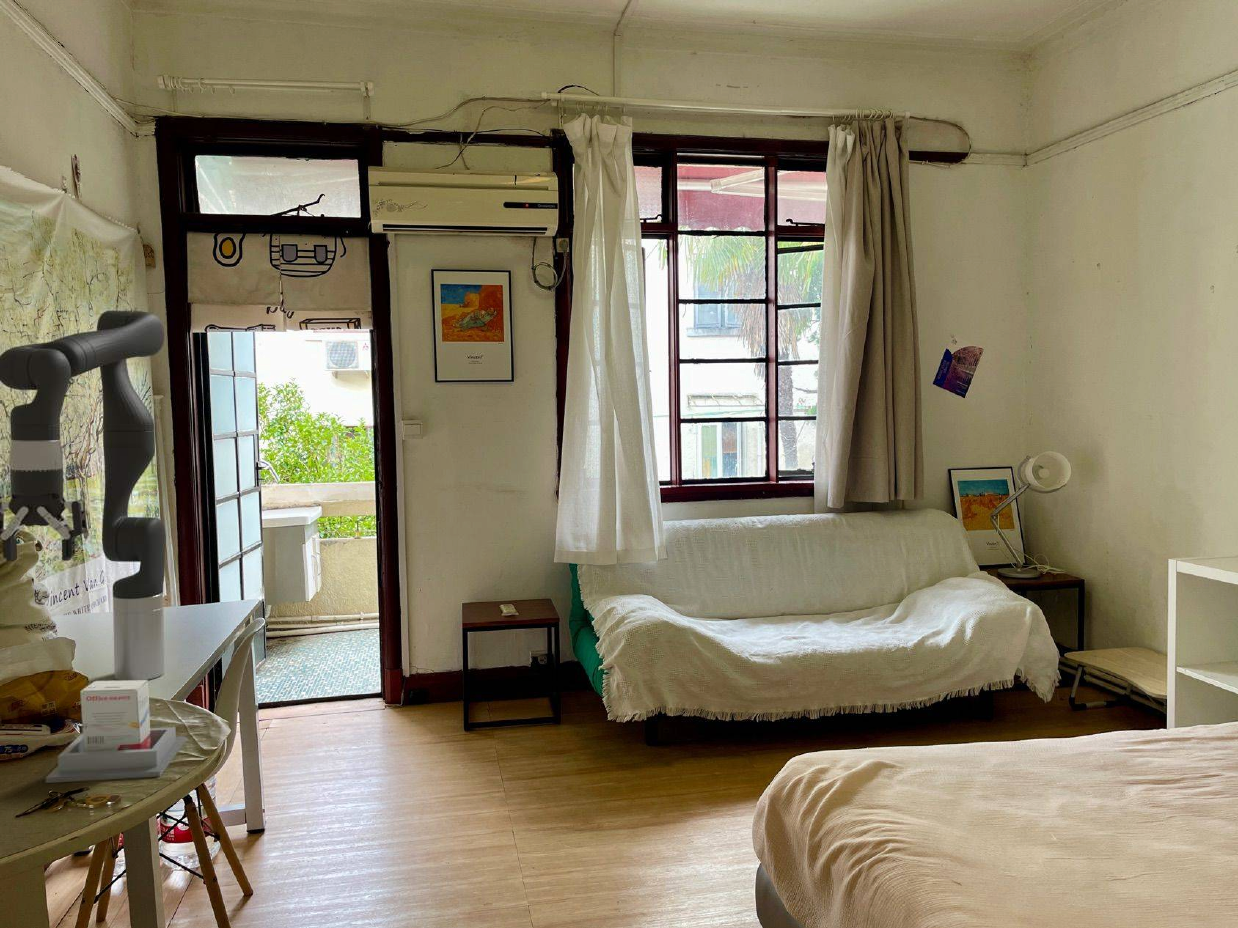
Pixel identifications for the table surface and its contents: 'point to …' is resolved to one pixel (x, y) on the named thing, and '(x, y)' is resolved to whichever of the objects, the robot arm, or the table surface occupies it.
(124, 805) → the table surface
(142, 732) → the ink box
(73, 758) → the tray
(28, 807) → the table surface
